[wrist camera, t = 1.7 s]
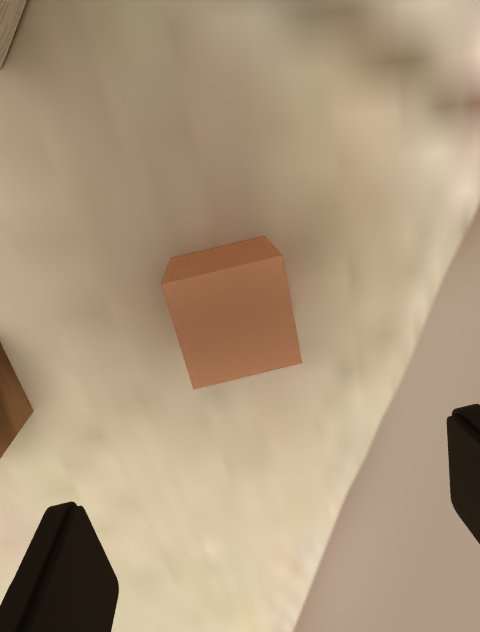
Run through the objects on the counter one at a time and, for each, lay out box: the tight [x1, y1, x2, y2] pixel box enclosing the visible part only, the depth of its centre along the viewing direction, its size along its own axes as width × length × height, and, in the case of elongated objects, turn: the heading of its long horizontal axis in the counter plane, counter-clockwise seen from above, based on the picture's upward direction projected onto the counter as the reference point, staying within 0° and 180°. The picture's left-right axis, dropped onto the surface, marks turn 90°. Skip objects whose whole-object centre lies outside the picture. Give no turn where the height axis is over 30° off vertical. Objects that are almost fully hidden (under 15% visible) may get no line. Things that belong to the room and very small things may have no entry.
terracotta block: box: [161, 236, 302, 389], centre depth 23 cm, size 6×6×6 cm
